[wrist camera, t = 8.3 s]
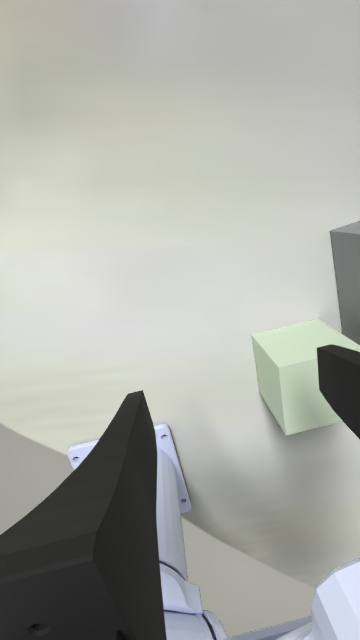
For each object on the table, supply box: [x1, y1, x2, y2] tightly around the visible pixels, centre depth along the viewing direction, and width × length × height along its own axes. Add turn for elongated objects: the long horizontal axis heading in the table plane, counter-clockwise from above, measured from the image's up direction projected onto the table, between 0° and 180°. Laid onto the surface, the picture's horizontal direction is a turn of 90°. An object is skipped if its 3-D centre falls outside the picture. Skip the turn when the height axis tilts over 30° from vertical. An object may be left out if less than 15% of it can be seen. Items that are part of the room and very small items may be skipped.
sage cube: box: [251, 319, 360, 435], centre depth 21 cm, size 5×5×5 cm
